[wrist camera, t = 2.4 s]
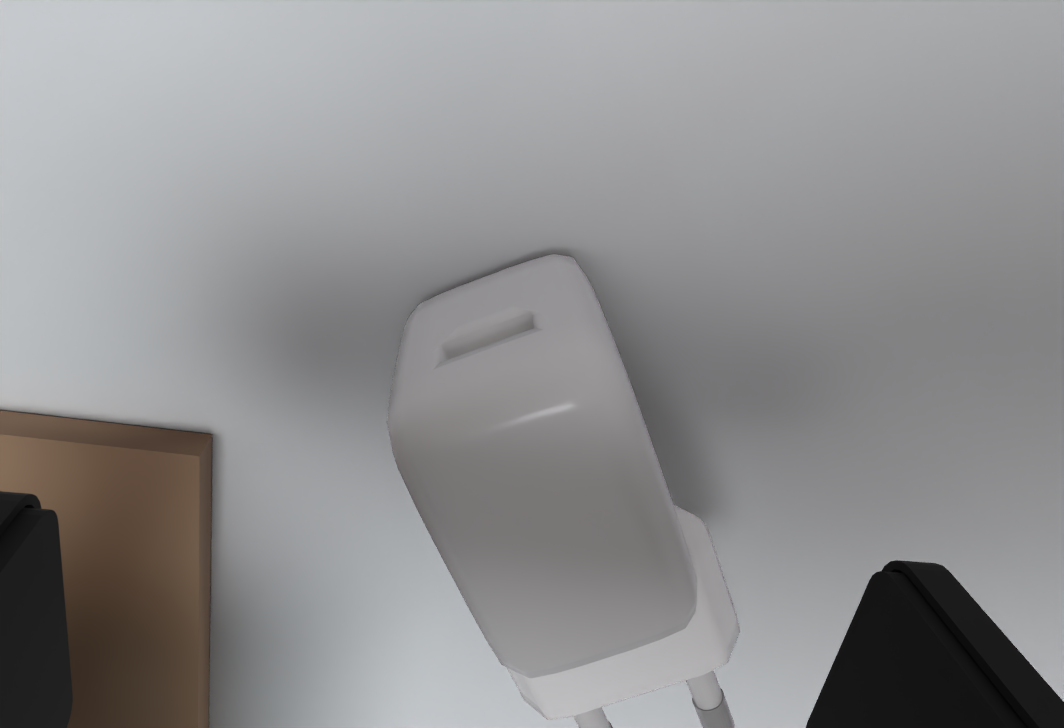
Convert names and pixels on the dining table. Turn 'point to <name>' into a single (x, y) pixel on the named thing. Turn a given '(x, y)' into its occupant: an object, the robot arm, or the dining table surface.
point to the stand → (125, 561)
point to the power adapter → (555, 497)
